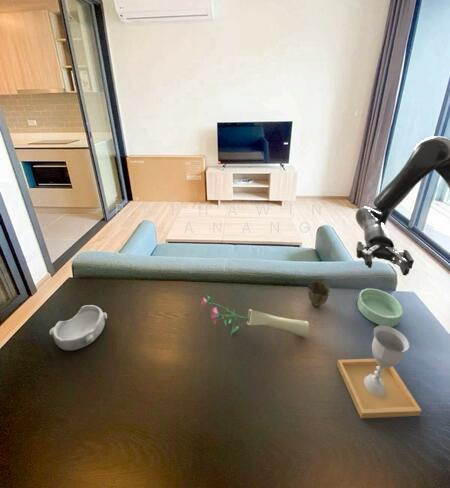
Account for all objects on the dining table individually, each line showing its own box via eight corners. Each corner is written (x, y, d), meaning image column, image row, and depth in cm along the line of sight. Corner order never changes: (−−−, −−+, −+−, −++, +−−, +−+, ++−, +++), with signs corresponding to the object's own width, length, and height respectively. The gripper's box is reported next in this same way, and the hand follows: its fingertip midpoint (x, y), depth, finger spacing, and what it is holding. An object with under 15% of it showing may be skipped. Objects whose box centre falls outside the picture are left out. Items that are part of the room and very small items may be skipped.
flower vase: (298, 359, 79) (193, 337, 78) (294, 320, 89) (200, 300, 88) (313, 347, 72) (197, 322, 71) (307, 306, 81) (205, 283, 80)
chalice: (362, 396, 63) (378, 347, 56) (356, 369, 69) (369, 322, 62) (394, 404, 61) (414, 355, 55) (385, 376, 67) (401, 328, 61)
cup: (301, 304, 91) (304, 287, 88) (311, 293, 96) (314, 277, 93) (321, 316, 86) (324, 298, 83) (329, 304, 91) (333, 287, 88)
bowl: (383, 297, 94) (386, 287, 93) (408, 327, 82) (412, 317, 80) (350, 297, 94) (352, 288, 92) (370, 328, 82) (373, 318, 80)
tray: (385, 362, 71) (387, 358, 70) (419, 415, 59) (421, 410, 59) (336, 364, 71) (337, 359, 70) (360, 418, 59) (362, 413, 58)
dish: (46, 345, 76) (41, 334, 74) (82, 310, 88) (79, 299, 86) (83, 359, 72) (79, 348, 70) (115, 320, 84) (113, 310, 82)
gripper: (356, 225, 83) (361, 252, 69) (405, 233, 78) (422, 264, 64) (352, 244, 86) (356, 273, 72) (399, 253, 81) (414, 286, 67)
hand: (387, 269), depth 68 cm, fingers open, 8 cm apart
